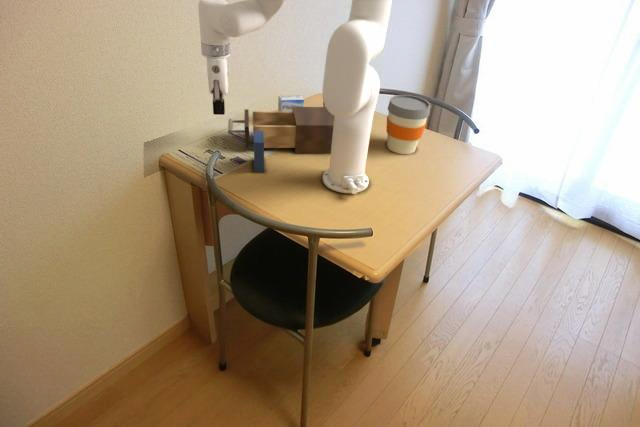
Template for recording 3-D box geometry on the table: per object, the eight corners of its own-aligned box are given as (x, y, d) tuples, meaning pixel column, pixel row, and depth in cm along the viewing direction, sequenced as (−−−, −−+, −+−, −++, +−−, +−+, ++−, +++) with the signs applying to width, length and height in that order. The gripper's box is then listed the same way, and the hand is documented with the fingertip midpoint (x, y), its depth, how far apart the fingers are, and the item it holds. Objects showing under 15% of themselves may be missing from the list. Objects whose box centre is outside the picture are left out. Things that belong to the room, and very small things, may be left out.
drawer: (228, 150, 129) (227, 126, 125) (229, 131, 139) (228, 109, 135) (304, 150, 133) (305, 127, 128) (300, 131, 142) (301, 110, 138)
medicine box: (280, 125, 148) (280, 100, 142) (277, 119, 151) (278, 95, 146) (303, 124, 150) (304, 99, 145) (300, 118, 153) (301, 94, 148)
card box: (254, 172, 122) (254, 142, 117) (254, 159, 127) (253, 130, 122) (264, 172, 122) (264, 142, 117) (263, 159, 128) (263, 130, 123)
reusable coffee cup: (400, 160, 134) (410, 113, 125) (373, 143, 141) (380, 98, 133) (429, 151, 140) (440, 106, 131) (401, 135, 148) (409, 92, 139)
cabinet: (295, 153, 132) (296, 125, 127) (291, 133, 143) (292, 106, 138) (356, 153, 135) (359, 125, 130) (347, 133, 146) (350, 107, 141)
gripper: (229, 58, 113) (231, 124, 124) (230, 41, 125) (232, 103, 135) (199, 57, 112) (204, 124, 122) (203, 40, 124) (207, 103, 134)
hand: (219, 113), depth 129 cm, fingers closed
